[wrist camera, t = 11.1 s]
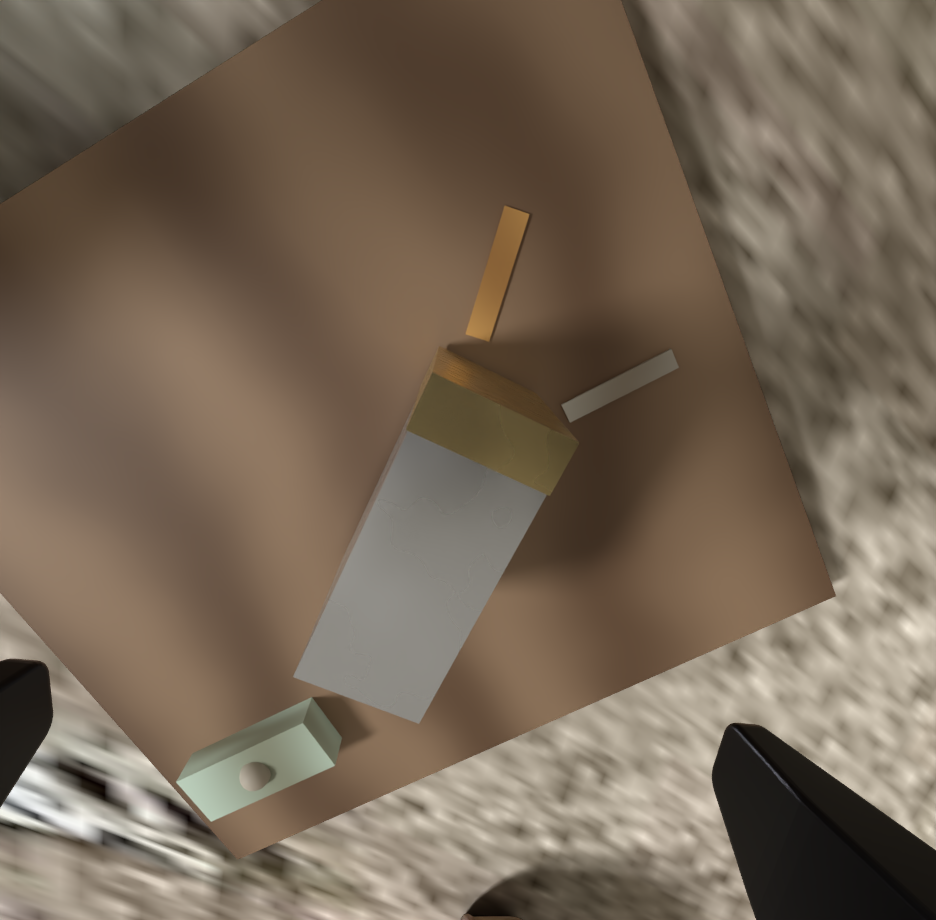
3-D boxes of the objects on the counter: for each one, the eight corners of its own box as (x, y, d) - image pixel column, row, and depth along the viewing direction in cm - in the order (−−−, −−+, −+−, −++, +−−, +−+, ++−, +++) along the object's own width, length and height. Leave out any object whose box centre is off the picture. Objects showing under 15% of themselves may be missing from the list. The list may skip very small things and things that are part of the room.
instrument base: (246, 834, 22) (219, 907, 19) (-181, 340, 16) (-303, 350, 13) (817, 581, 19) (873, 625, 17) (557, -122, 13) (582, -223, 11)
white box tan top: (430, 595, 18) (420, 726, 12) (340, 558, 17) (290, 677, 12) (535, 393, 16) (579, 442, 10) (438, 345, 15) (432, 372, 10)
